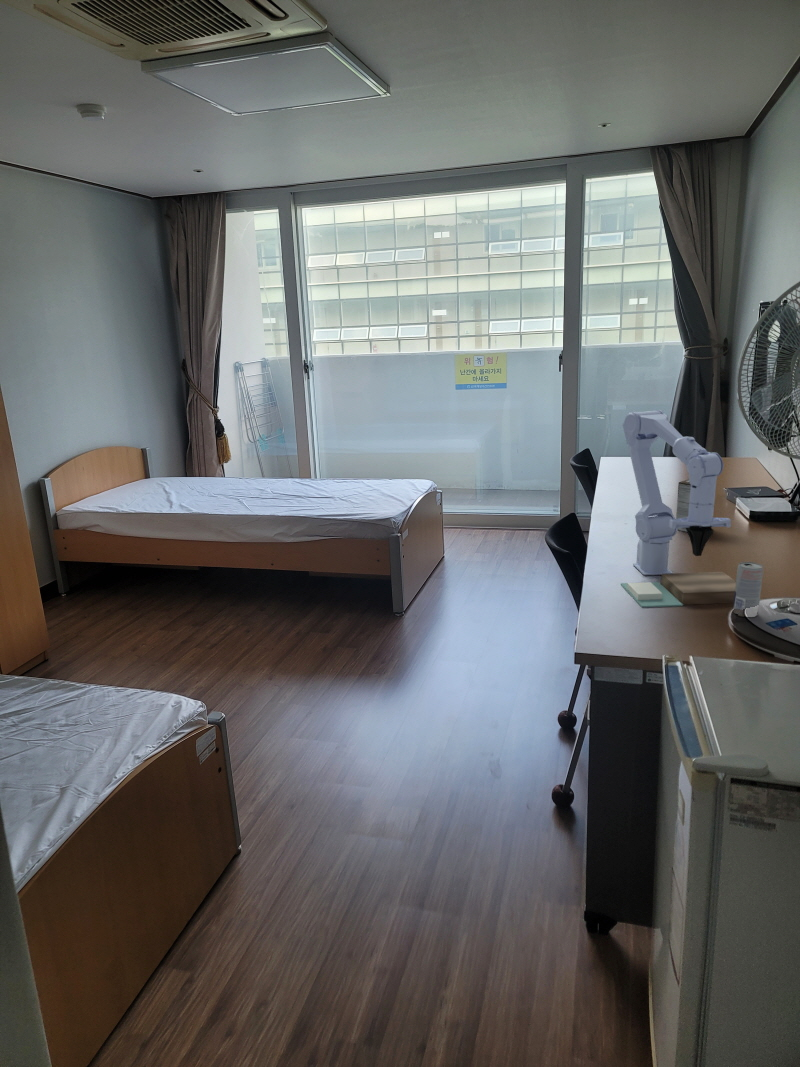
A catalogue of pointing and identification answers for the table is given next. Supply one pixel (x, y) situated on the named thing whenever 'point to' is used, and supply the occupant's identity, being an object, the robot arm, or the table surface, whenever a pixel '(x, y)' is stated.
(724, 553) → the table surface
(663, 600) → the teal mat
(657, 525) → the robot arm
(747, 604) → the energy drink
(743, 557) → the table surface
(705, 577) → the block
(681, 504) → the coffee box
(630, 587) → the cream tile
